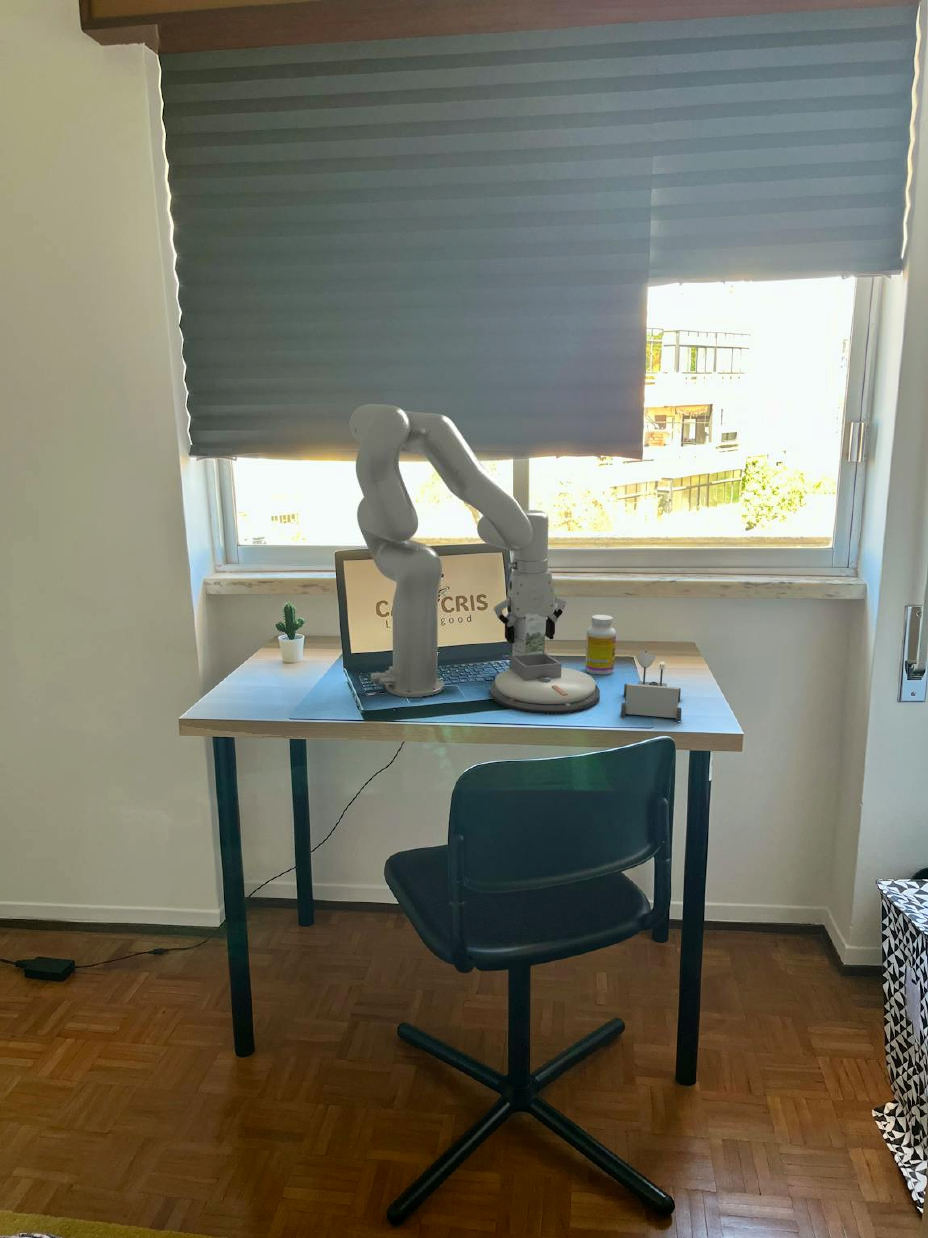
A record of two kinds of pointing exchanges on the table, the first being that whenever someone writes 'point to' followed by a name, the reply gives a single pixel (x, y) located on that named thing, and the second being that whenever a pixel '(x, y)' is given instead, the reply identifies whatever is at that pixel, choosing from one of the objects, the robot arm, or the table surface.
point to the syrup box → (529, 635)
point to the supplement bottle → (600, 646)
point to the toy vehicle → (651, 695)
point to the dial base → (545, 708)
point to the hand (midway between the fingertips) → (529, 639)
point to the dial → (543, 681)
